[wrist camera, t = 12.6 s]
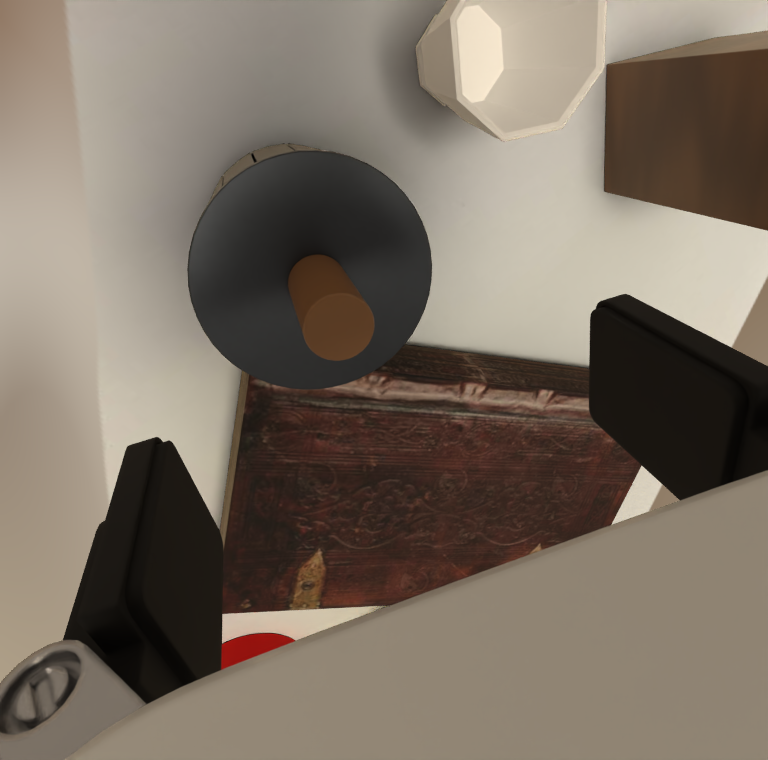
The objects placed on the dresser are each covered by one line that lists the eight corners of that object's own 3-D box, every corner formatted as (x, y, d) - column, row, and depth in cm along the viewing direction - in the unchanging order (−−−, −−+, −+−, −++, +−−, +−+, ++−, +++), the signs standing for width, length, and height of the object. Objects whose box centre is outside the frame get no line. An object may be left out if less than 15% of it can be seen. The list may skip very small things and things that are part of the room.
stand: (606, 64, 29) (870, 38, 17) (714, 37, 30) (1037, -5, 18) (604, 192, 33) (821, 243, 21) (700, 164, 33) (961, 199, 22)
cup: (376, 117, 27) (427, 122, 20) (422, -129, 23) (505, -226, 16) (493, 146, 29) (574, 159, 23) (553, -73, 25) (675, -137, 18)
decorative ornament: (306, 623, 44) (312, 657, 41) (307, 693, 48) (312, 727, 46) (187, 646, 42) (184, 684, 39) (199, 717, 46) (197, 755, 43)
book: (631, 370, 40) (679, 402, 36) (543, 551, 48) (574, 595, 43) (249, 319, 30) (252, 354, 26) (215, 556, 38) (213, 614, 34)
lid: (144, 187, 18) (115, 215, 14) (407, 121, 20) (462, 127, 15) (238, 412, 24) (241, 489, 19) (443, 348, 25) (492, 405, 20)
